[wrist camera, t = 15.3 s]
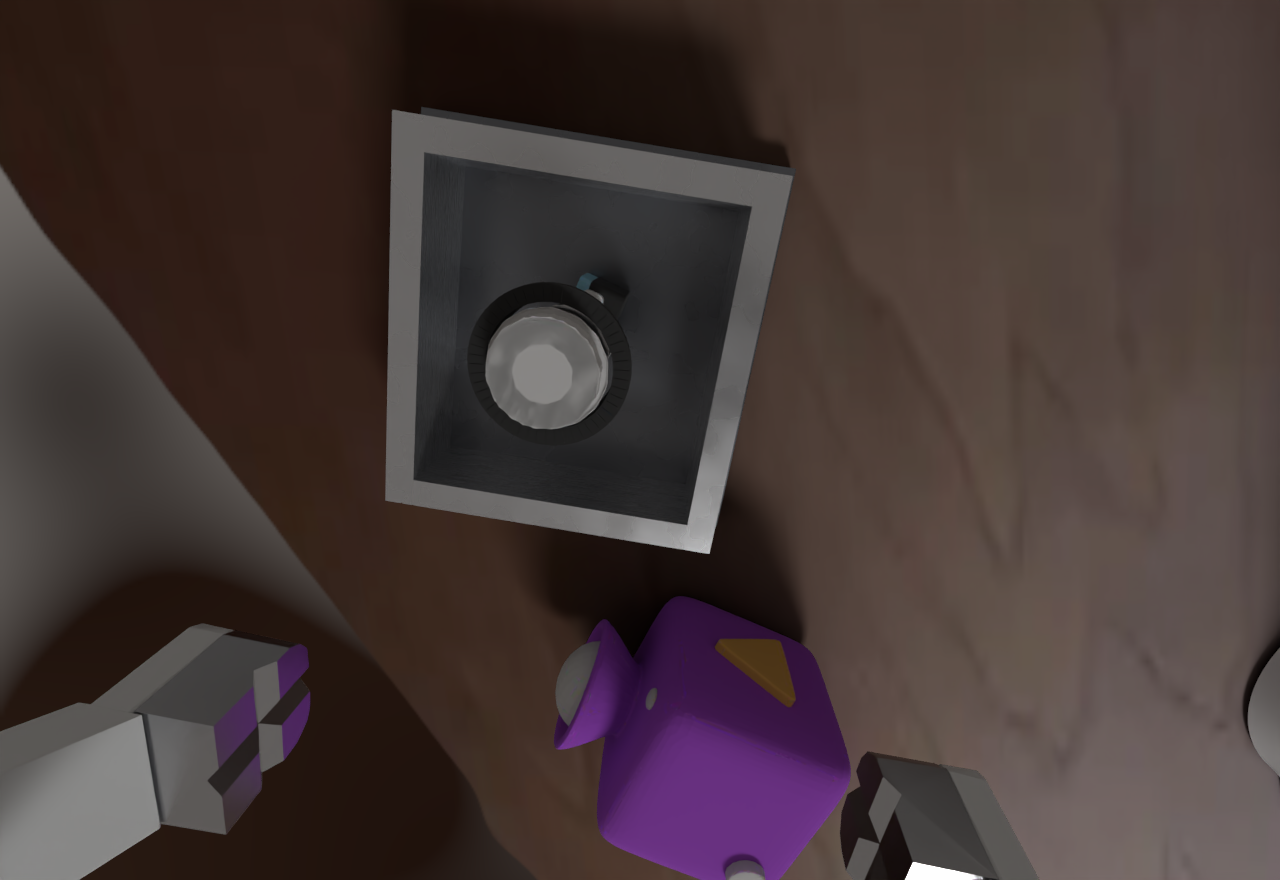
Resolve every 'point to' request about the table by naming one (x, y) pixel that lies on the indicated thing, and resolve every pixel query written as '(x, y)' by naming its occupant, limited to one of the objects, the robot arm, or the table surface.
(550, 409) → the push button
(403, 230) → the grey open box
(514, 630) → the table surface
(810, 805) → the toy camera
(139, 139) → the table surface
